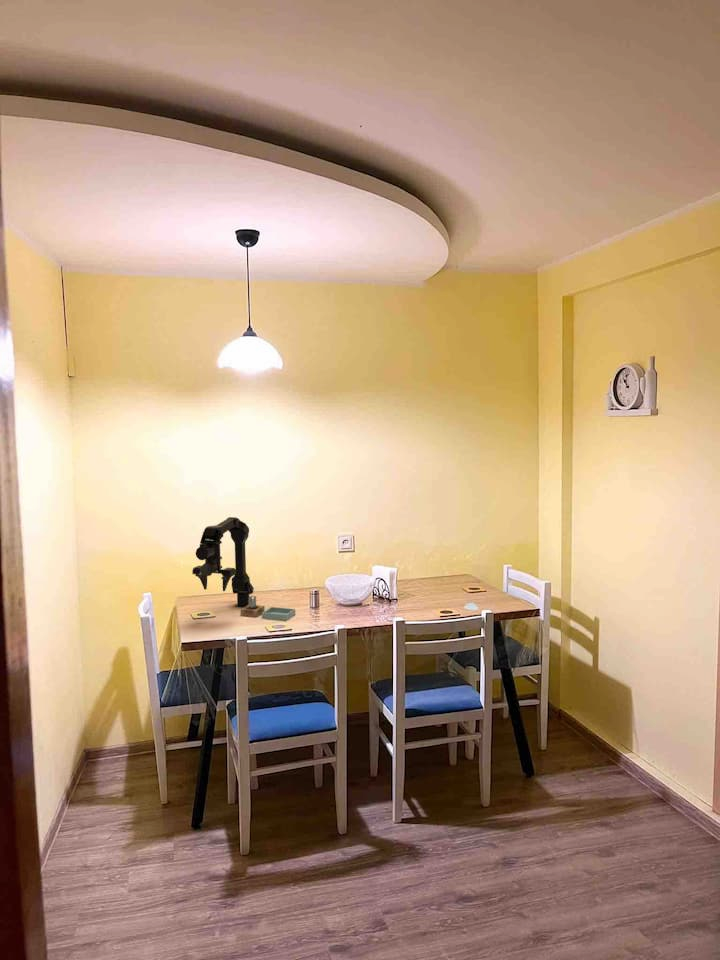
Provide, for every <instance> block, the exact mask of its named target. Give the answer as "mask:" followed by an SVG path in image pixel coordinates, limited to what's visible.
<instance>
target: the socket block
mask: <svg viewBox="0 0 720 960" xmlns="http://www.w3.org/2000/svg"><path fill="white" fill-rule="evenodd" d="M264 611H266V610H265V605H258V604H256V609H249V605H247V606H246V607H241V608H240V616H241V617H249V618H259V616H262V612H264Z"/></svg>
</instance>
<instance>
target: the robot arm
mask: <svg viewBox="0 0 720 960" xmlns="http://www.w3.org/2000/svg"><path fill="white" fill-rule="evenodd" d="M227 532H229V533H230V539H231V540H232V541H233V544H234V562H235V563H234V564H235V567H225V568H223V565H222V564H221V562H222V561H221V560H222V559H223V557H222V556H221V544H222V543H223V542H222V540H221V539H223V537H224V534H225V533H227ZM249 534H250V528H249V526H248V525H247V523H245V522H244V521H242V520H240V519H239V518H238V517H237V516H236V517H234V516H233V517H231V516H230V517H226V519H225V520H223V521H221V522H219V523H218V524H215V525H208V526H206V527H205V528H204V530H203V531H202V535H201V539H200V540H199V541H200V543H199V547H197V549H196V550H195V557H196V558H197V559H198V560H199V561H204V563H203V564H202V565H196V566H194V567H193V568H192V571H191V572H192V575H194V576H195V577H197V578H198V579H199V580H200V583H201V584H202V587H203V590H207V589H208V577H210V576H212V575H213V574H218V575H219V574H221V579H222V592H226V589H227V586H228V585H229V581H230V580H231V589H232V593H233V594H236V597H237V598H236V600H237V601H236V604H235V605H234V607H236V608H244V607H246V606H247V605H249V597H250V595H252V594H253V593H254V589H255V587H253V585H252V583H251V579H250V576H249V574H248V573H247V563H246V562H247V561H246V558H247V557H246V542H247V540H248V538H249Z"/></svg>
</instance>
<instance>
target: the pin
mask: <svg viewBox="0 0 720 960" xmlns="http://www.w3.org/2000/svg"><path fill="white" fill-rule="evenodd" d="M256 605H257V596H255V595H249V609H256Z"/></svg>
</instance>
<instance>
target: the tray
mask: <svg viewBox="0 0 720 960" xmlns="http://www.w3.org/2000/svg"><path fill="white" fill-rule="evenodd" d="M294 616H296V608H289V607H288V608H287V607H276V606H270V607H269V608H267V609H266V610H265V611H264V612H262V614H261V619H262V620H273V621H282V622H287V621H289V620H290V619H292V618H293V617H294Z"/></svg>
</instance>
